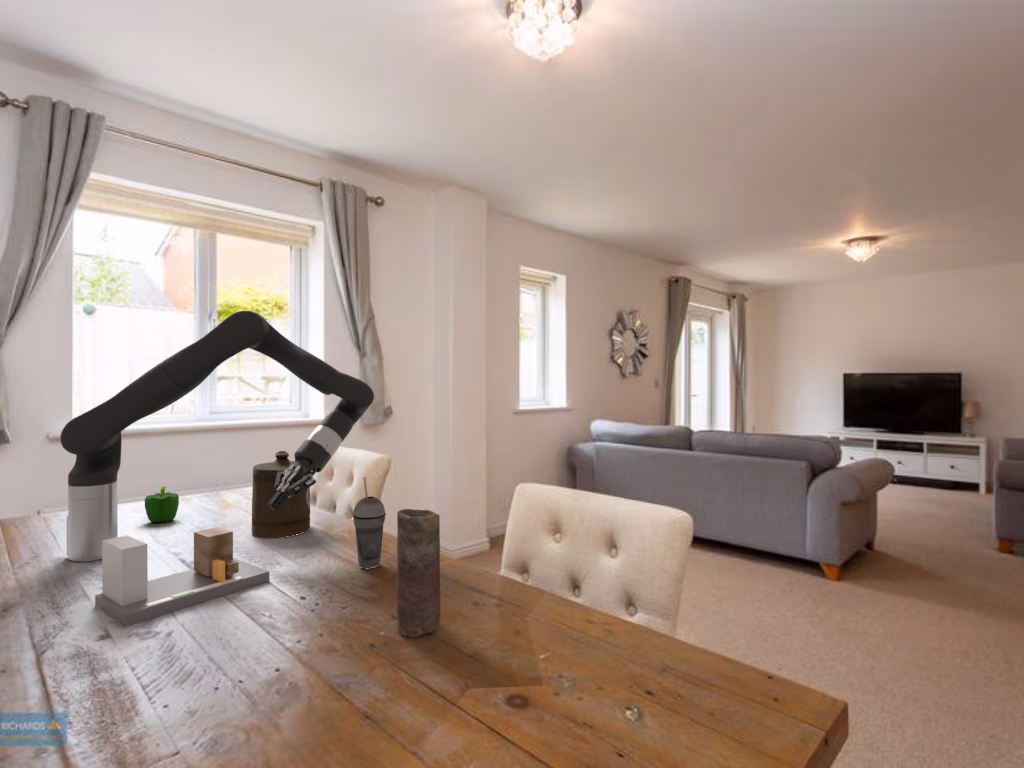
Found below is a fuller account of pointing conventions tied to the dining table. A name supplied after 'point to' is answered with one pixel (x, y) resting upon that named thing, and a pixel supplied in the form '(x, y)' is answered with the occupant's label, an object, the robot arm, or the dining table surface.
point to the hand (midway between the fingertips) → (271, 507)
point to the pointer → (219, 570)
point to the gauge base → (158, 583)
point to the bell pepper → (161, 506)
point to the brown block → (214, 550)
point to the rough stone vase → (418, 572)
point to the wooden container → (290, 514)
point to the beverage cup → (369, 529)
